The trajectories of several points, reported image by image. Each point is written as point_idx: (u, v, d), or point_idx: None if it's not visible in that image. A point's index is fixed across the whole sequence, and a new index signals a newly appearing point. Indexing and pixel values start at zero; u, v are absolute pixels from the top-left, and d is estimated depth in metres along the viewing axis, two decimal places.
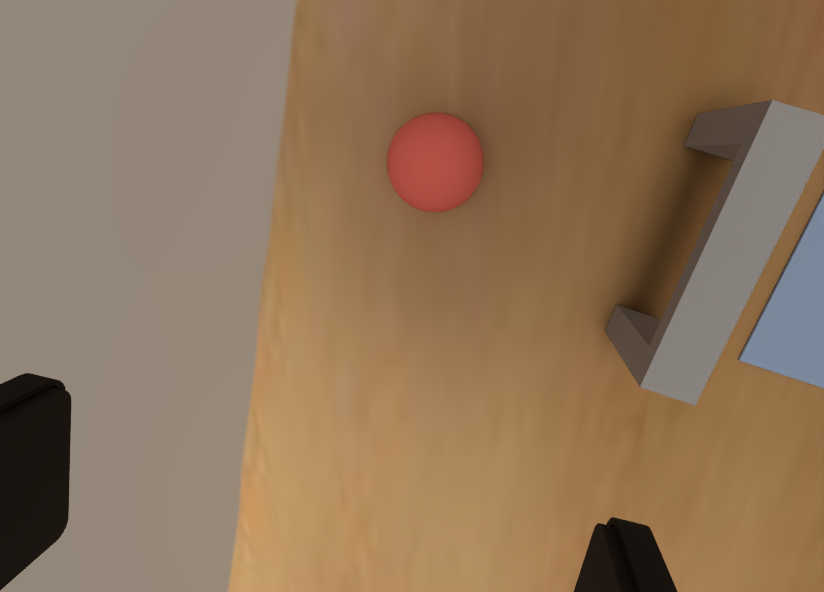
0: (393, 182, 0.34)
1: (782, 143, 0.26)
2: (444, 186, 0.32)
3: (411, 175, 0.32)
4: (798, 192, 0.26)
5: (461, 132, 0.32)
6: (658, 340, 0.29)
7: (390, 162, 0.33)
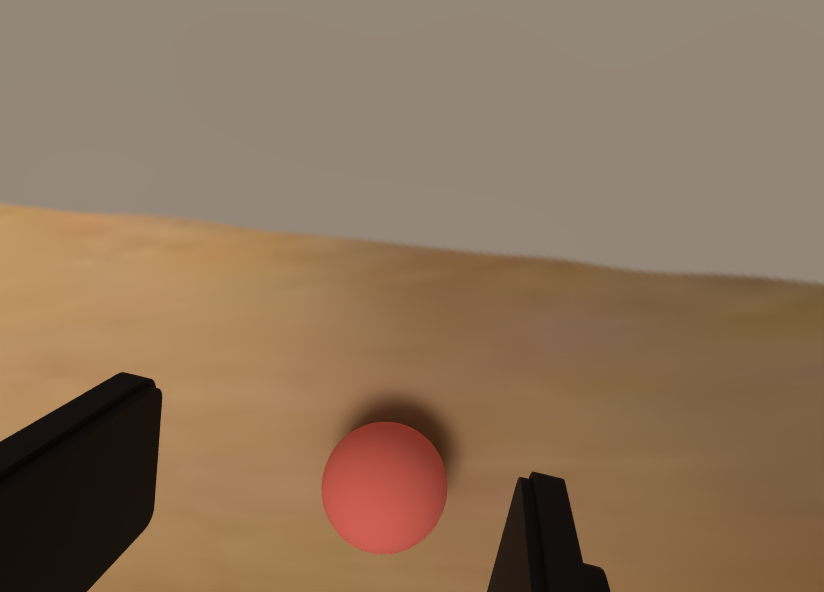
0: (348, 455, 0.25)
1: None
2: (348, 535, 0.25)
3: (356, 499, 0.24)
4: None
5: (420, 539, 0.25)
6: None
7: (373, 454, 0.25)
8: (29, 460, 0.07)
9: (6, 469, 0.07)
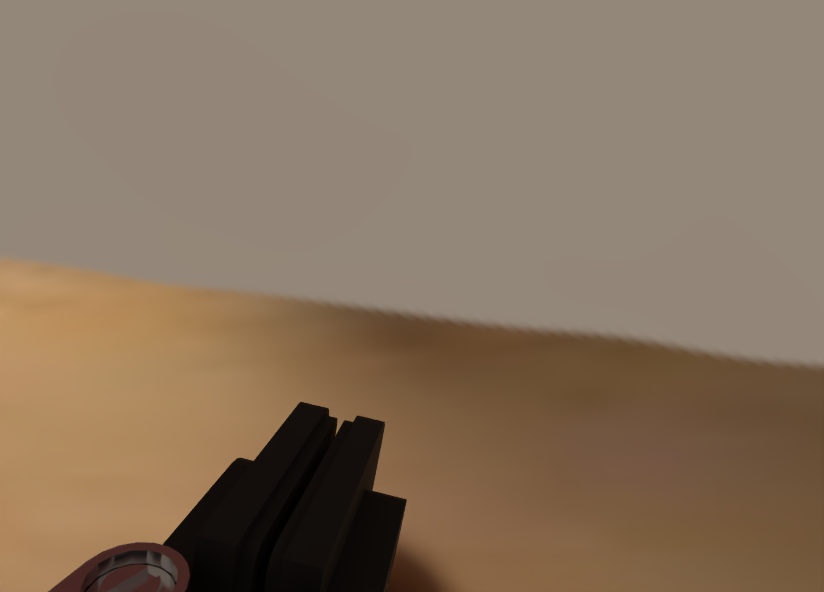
0: None
1: None
2: None
3: None
4: None
5: None
6: None
7: None
8: (271, 498, 0.07)
9: (261, 508, 0.07)
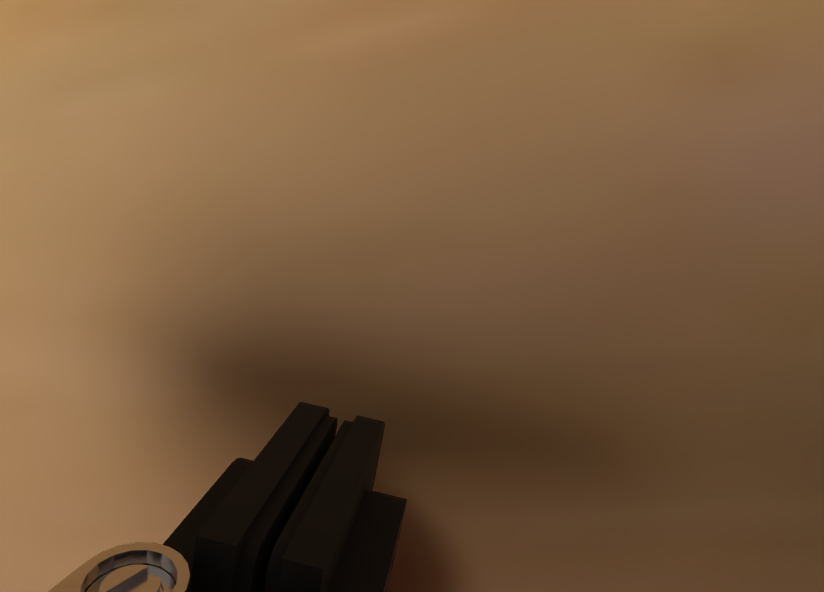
0: None
1: None
2: None
3: None
4: None
5: None
6: None
7: None
8: (271, 498, 0.07)
9: (260, 509, 0.07)
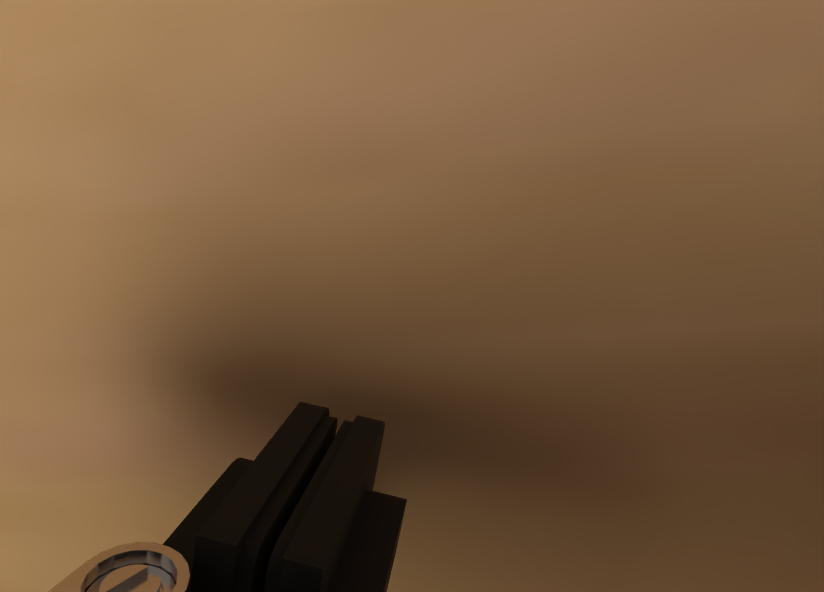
0: None
1: None
2: None
3: None
4: None
5: None
6: None
7: None
8: (271, 498, 0.07)
9: (260, 508, 0.07)
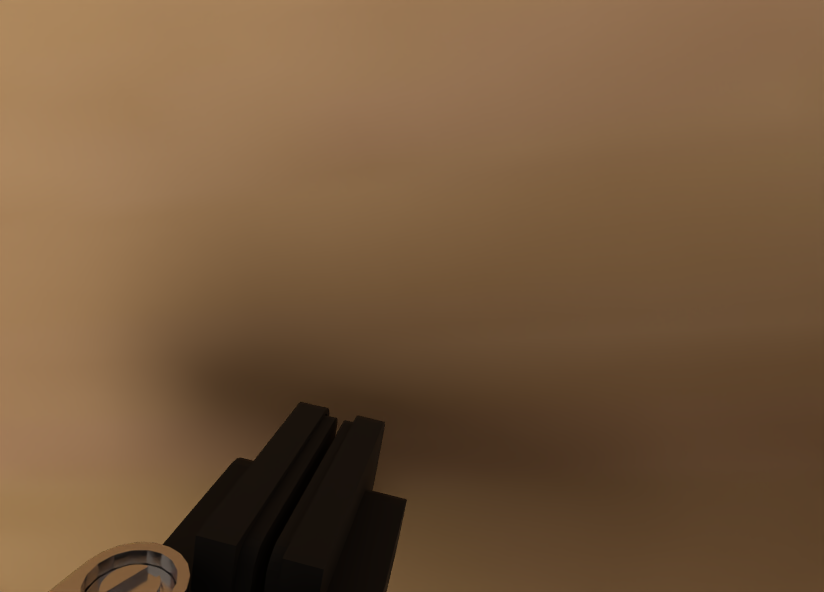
0: None
1: None
2: None
3: None
4: None
5: None
6: None
7: None
8: (271, 498, 0.07)
9: (260, 508, 0.07)
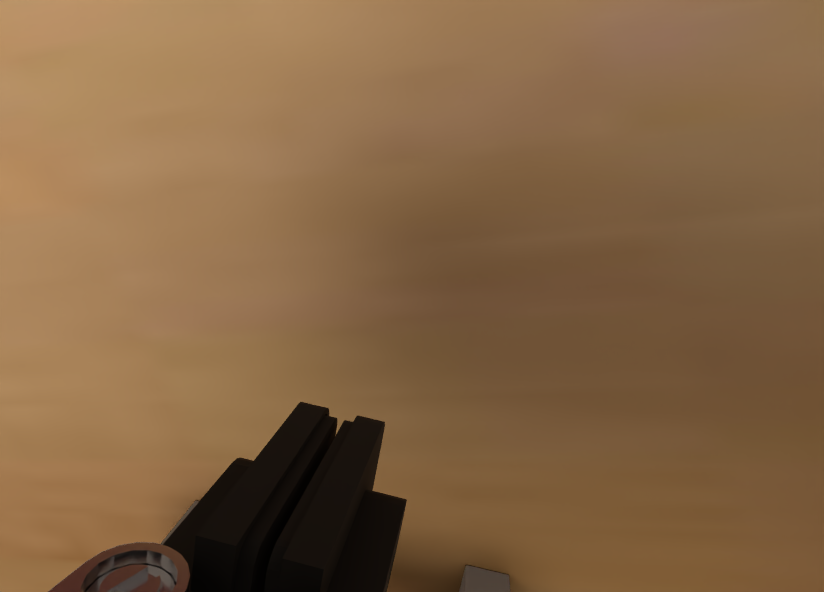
0: None
1: None
2: None
3: None
4: None
5: None
6: None
7: None
8: (271, 498, 0.07)
9: (260, 508, 0.07)
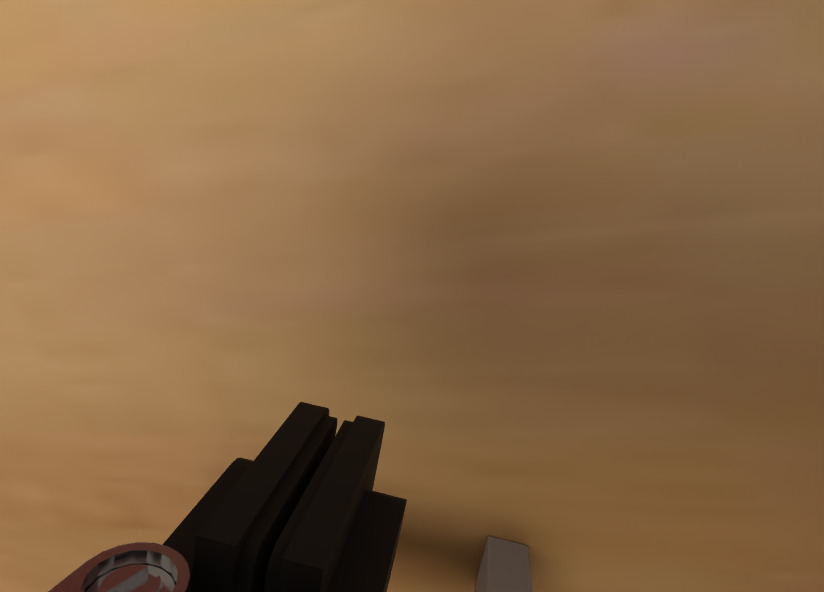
0: None
1: None
2: None
3: None
4: None
5: None
6: None
7: None
8: (271, 498, 0.07)
9: (260, 508, 0.07)
